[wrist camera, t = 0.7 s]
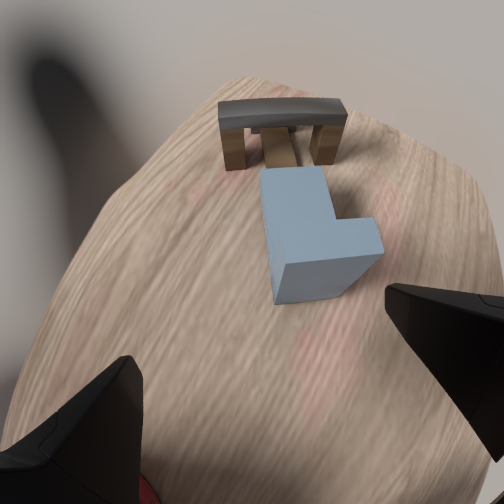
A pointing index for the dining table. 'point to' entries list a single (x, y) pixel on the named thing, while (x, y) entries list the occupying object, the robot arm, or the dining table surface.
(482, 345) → the robot arm
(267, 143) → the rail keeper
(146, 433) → the dining table surface
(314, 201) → the light blue l-shaped block
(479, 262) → the dining table surface
